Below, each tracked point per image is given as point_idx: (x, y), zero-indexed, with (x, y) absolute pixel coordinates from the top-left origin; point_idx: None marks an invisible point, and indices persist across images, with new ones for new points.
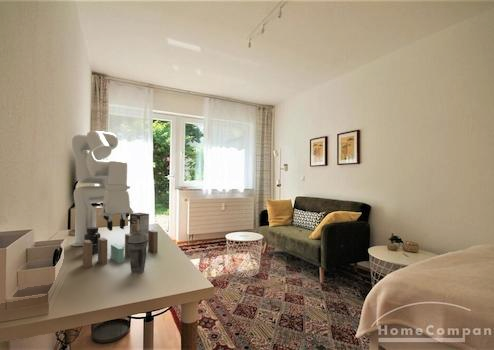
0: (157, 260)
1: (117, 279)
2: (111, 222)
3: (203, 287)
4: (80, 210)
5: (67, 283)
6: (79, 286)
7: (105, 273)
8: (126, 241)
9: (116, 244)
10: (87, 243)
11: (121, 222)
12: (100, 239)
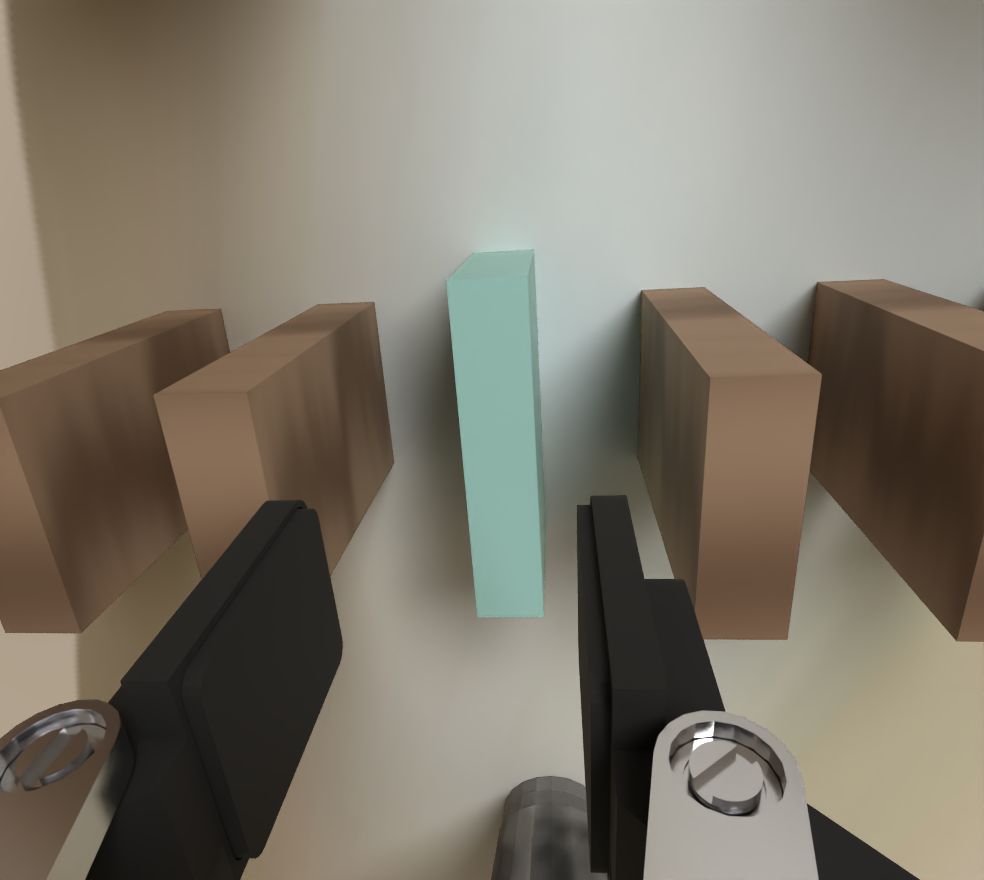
0: (817, 705)
1: (392, 838)
2: (231, 853)
3: None
4: None
5: (98, 695)
6: None
7: (340, 693)
8: (675, 417)
9: (522, 339)
10: (20, 630)
11: (586, 753)
12: (194, 526)
